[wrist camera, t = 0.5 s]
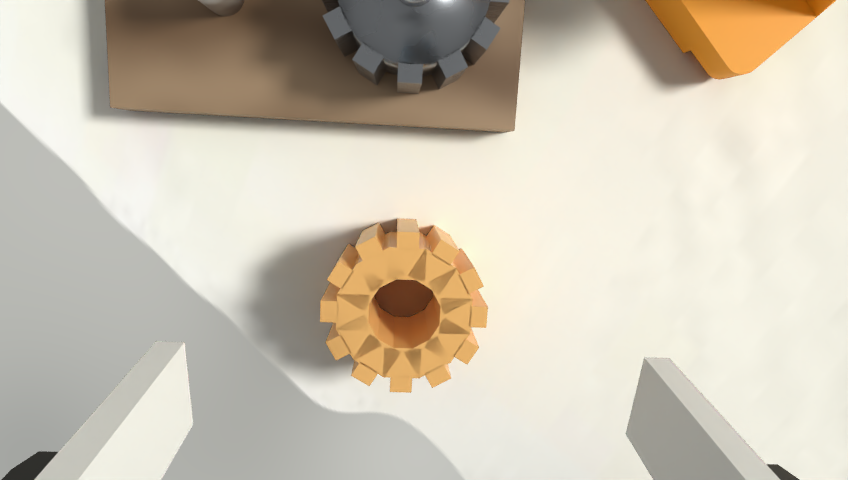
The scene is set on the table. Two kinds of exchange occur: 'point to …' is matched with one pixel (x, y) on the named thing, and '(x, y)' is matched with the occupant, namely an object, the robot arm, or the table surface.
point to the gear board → (290, 67)
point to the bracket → (734, 29)
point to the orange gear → (403, 336)
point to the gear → (413, 37)
